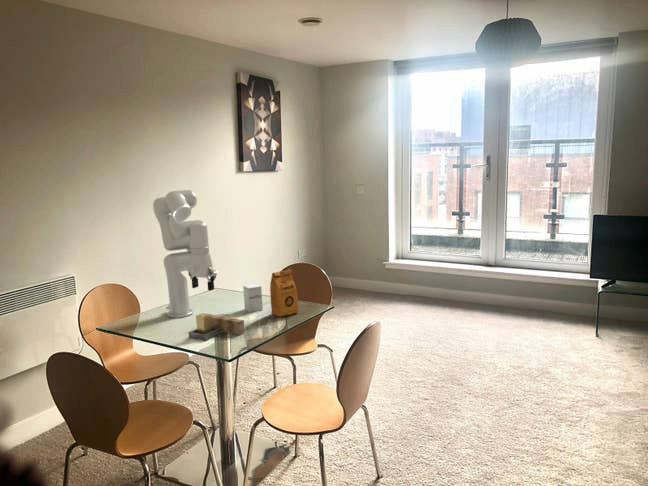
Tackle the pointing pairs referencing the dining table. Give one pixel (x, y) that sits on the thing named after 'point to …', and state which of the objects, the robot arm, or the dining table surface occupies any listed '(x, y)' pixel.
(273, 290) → the coffee package
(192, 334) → the grey square tray
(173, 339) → the dining table surface
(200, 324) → the block
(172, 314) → the robot arm
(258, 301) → the supplement box
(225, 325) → the brown plank
